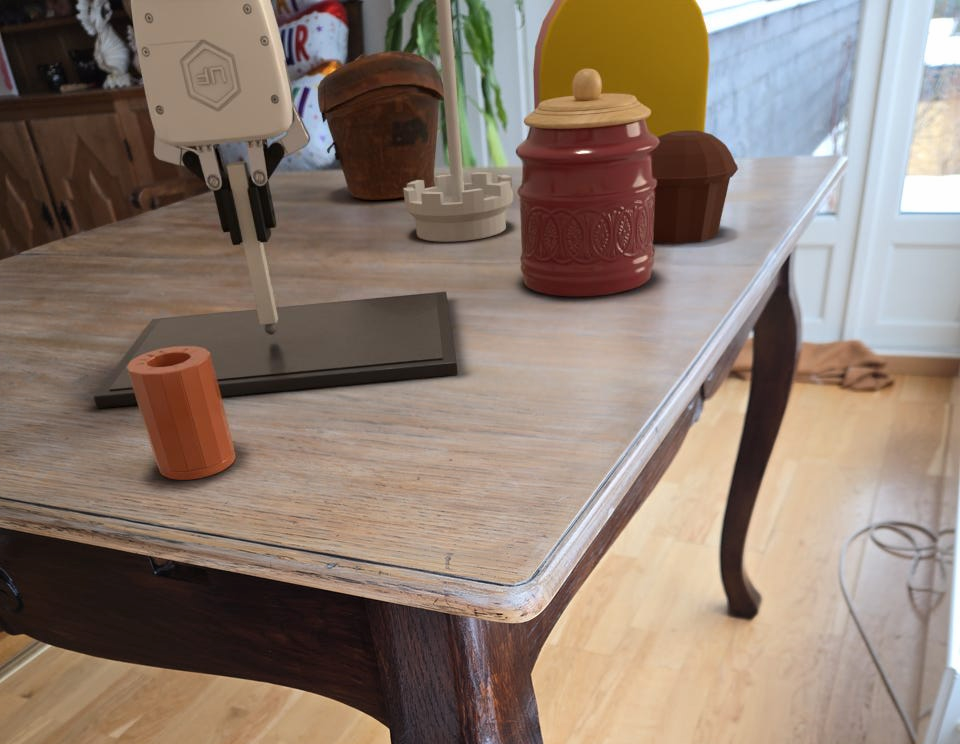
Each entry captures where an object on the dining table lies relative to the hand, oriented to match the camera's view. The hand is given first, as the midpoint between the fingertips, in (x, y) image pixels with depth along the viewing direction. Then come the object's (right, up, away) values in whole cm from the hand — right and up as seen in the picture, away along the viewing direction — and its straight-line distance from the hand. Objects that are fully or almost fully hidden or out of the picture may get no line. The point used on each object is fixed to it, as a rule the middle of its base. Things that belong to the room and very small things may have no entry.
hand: (252, 238), depth 72 cm
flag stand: (+16, +18, +38) cm, 45 cm away
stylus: (+1, -6, +4) cm, 8 cm away
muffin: (+41, +13, +29) cm, 52 cm away
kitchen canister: (+29, +3, +16) cm, 33 cm away
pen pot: (-1, -21, -12) cm, 24 cm away
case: (+5, +35, +62) cm, 71 cm away
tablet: (+2, -7, +5) cm, 9 cm away
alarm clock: (+37, +28, +50) cm, 68 cm away
